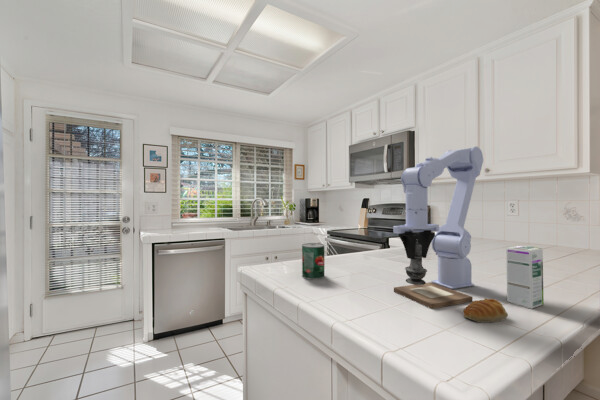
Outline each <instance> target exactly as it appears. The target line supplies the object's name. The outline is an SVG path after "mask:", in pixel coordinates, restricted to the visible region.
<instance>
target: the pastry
mask: <svg viewBox="0 0 600 400" xmlns="http://www.w3.org/2000/svg"><path fill="white" fill-rule="evenodd" d="M462 313H463V317H464V318H466V319H469V320H472V321H474V322H478V323H494V322H501V321H504V320H506V319H507V318H508V316H509V315H508V312H507V310H506V309H505V307H504V306H503V304H502V302H501V301H499V300H497V299H494V298H484V299H480V300H473V301H472V302H470V303H469V304H468V305H467V306H466V307H464V309H463V312H462Z"/></svg>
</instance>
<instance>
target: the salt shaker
mask: <svg viewBox="0 0 600 400" xmlns="http://www.w3.org/2000/svg"><path fill="white" fill-rule="evenodd" d="M423 259H424V258H423V256H422V245H421V244H419V243H418V241H416V246H415V258H414V259H409V260H410V262H409V266H406V267H405V268H404V270H405V273H406V276H407V277H408V278H406V279H405V282H406V283H408V284H409V285H424V284H426V283H427V282H426V281H425V280H424V278H425V277H426V275H427V272H428V269H426V268H424V266H423Z"/></svg>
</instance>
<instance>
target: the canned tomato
mask: <svg viewBox="0 0 600 400" xmlns="http://www.w3.org/2000/svg"><path fill="white" fill-rule="evenodd" d="M301 257H302V259H301V270H302V271H301V276H302V278H303V279H306V280H321V279H323V278H325V268H326V267H325V243H320V242H319V243H318V242H317V243H316V242H309V243H303V244H302V245H301Z"/></svg>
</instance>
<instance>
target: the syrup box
mask: <svg viewBox="0 0 600 400" xmlns="http://www.w3.org/2000/svg"><path fill="white" fill-rule="evenodd" d="M505 250H506V253H505V254H506V299H507V303H511V304H513V305H517V306H520V307H524V308H528V309H531V310H532V309H534V308H537V307H540V306H544V302H545V301H544V300H545V299H544V268H543V267H544V261H543V260H544V256H543V253H544V252H543V248H540V247H535V246H529V245H516V246H511V247H509V246H508V247H506V248H505Z"/></svg>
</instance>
